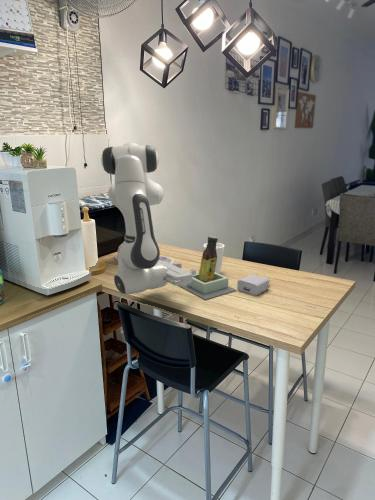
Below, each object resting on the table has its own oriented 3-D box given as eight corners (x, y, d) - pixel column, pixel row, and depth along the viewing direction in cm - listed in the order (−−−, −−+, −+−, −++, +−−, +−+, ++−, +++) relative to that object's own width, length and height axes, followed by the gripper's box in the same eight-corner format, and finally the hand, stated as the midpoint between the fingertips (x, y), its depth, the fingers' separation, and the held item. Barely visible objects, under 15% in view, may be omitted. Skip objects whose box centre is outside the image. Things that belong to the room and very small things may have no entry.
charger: (276, 285, 161) (256, 296, 150) (257, 280, 167) (237, 290, 156) (276, 275, 160) (257, 285, 149) (257, 270, 166) (237, 279, 155)
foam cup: (198, 272, 177) (199, 244, 173) (214, 268, 182) (214, 241, 178) (212, 277, 169) (213, 249, 166) (227, 273, 175) (228, 246, 171)
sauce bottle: (208, 287, 156) (216, 239, 152) (195, 283, 158) (202, 236, 155) (214, 284, 161) (222, 238, 158) (201, 280, 164) (208, 235, 161)
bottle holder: (187, 285, 160) (187, 276, 159) (210, 279, 167) (210, 270, 166) (204, 294, 151) (204, 284, 150) (228, 287, 158) (228, 277, 157)
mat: (175, 284, 162) (175, 283, 162) (205, 276, 171) (205, 275, 171) (205, 300, 146) (205, 299, 146) (236, 290, 155) (236, 289, 155)
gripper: (173, 275, 133) (204, 267, 141) (143, 260, 149) (173, 254, 157) (173, 292, 135) (204, 283, 143) (144, 276, 151) (173, 269, 159)
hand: (187, 268), depth 150 cm, fingers open, 8 cm apart
